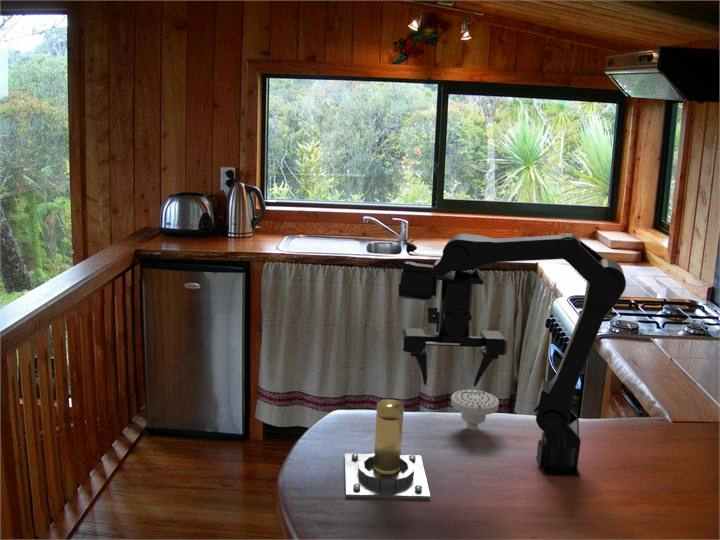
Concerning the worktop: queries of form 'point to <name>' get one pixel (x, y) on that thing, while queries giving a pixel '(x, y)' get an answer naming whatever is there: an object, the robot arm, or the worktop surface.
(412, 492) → the floor flange
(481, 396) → the showerhead
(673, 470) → the worktop surface
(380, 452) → the brass cylinder
